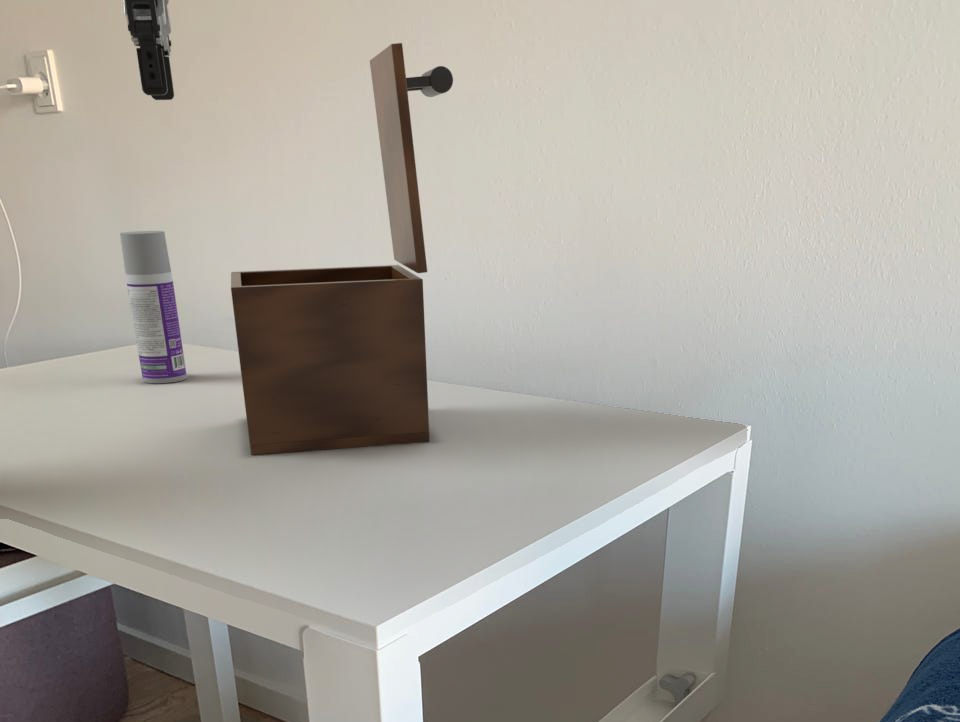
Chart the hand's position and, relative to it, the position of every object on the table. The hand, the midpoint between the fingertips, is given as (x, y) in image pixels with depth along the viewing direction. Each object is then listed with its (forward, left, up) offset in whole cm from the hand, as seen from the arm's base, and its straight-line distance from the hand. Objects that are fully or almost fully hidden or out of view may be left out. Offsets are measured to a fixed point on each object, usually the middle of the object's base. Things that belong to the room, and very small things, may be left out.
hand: (159, 97), depth 96 cm
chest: (+12, -25, -27) cm, 39 cm away
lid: (+18, -25, -6) cm, 32 cm away
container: (-4, +4, -27) cm, 28 cm away
